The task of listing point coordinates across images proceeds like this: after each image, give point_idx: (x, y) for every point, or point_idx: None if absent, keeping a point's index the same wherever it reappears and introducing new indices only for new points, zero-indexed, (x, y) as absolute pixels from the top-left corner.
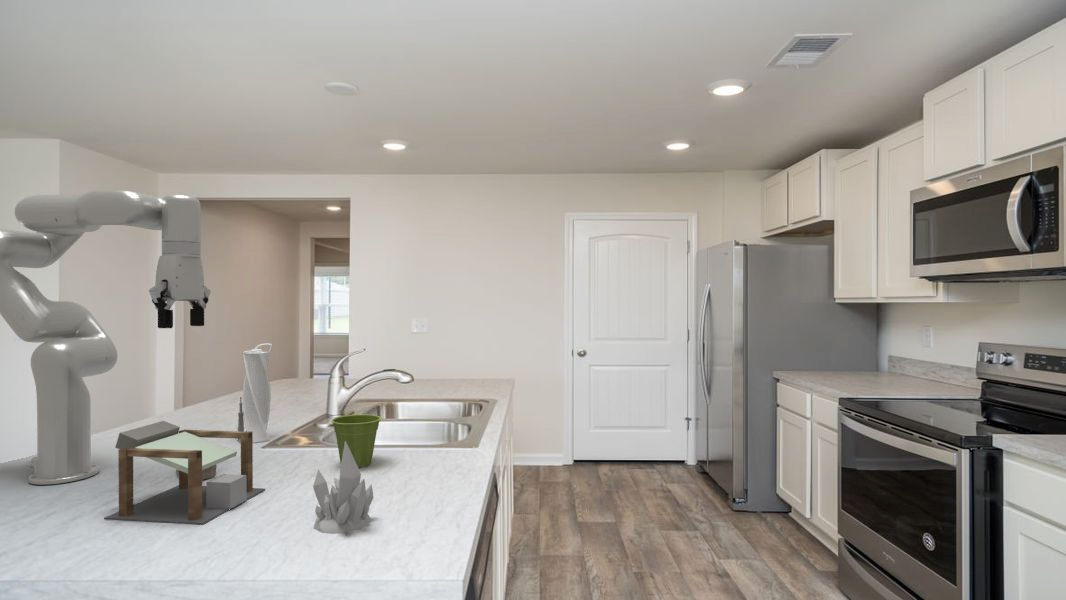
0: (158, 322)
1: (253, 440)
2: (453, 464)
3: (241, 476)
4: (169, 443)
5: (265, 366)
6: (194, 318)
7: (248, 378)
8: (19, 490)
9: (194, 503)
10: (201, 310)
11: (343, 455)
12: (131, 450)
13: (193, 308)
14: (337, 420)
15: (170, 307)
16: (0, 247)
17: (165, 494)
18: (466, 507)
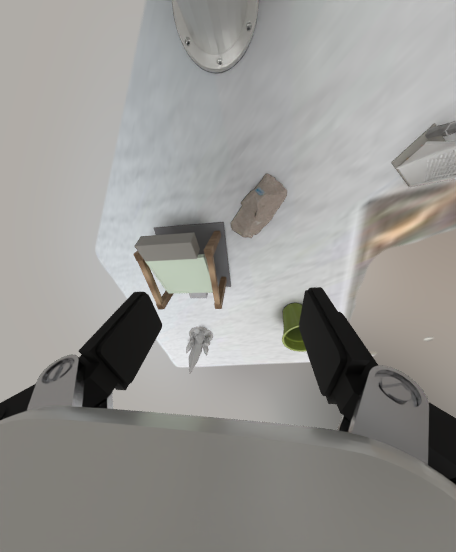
0: (124, 306)
1: (403, 171)
2: (295, 352)
3: (202, 297)
4: (175, 266)
5: None
6: (313, 328)
7: None
8: (155, 15)
9: None
10: (320, 391)
11: (189, 366)
12: (139, 264)
13: (345, 377)
14: None
15: (109, 399)
16: None
17: (201, 230)
18: (230, 363)
